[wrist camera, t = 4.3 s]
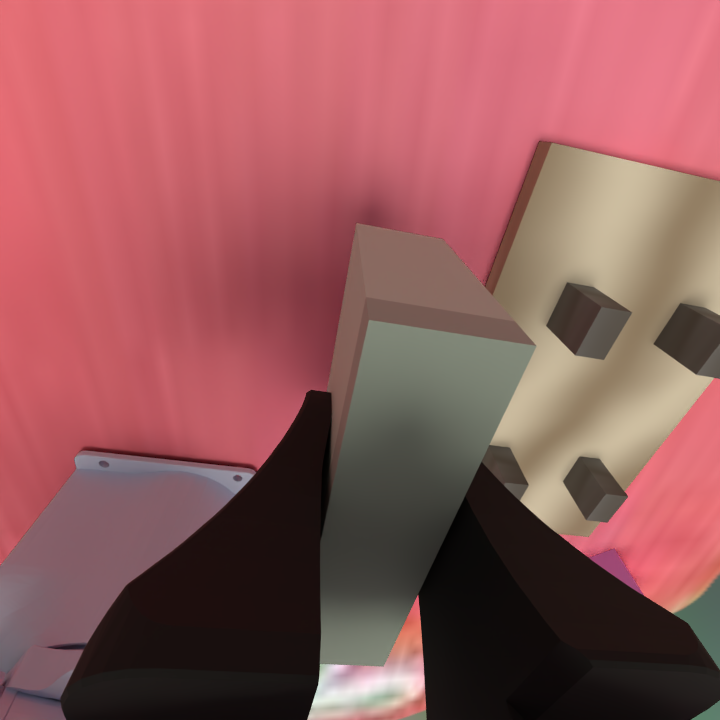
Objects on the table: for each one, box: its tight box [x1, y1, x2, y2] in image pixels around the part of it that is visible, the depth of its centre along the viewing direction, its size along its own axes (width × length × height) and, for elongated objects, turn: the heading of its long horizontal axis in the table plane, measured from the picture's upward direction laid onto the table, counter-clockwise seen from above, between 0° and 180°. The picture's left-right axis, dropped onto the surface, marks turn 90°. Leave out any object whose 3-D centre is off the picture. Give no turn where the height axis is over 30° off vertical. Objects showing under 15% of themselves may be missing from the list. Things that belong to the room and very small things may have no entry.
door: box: [320, 223, 536, 666], centre depth 10 cm, size 2×10×6 cm, turn 169°
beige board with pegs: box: [482, 141, 720, 537], centre depth 18 cm, size 12×20×4 cm, turn 169°
